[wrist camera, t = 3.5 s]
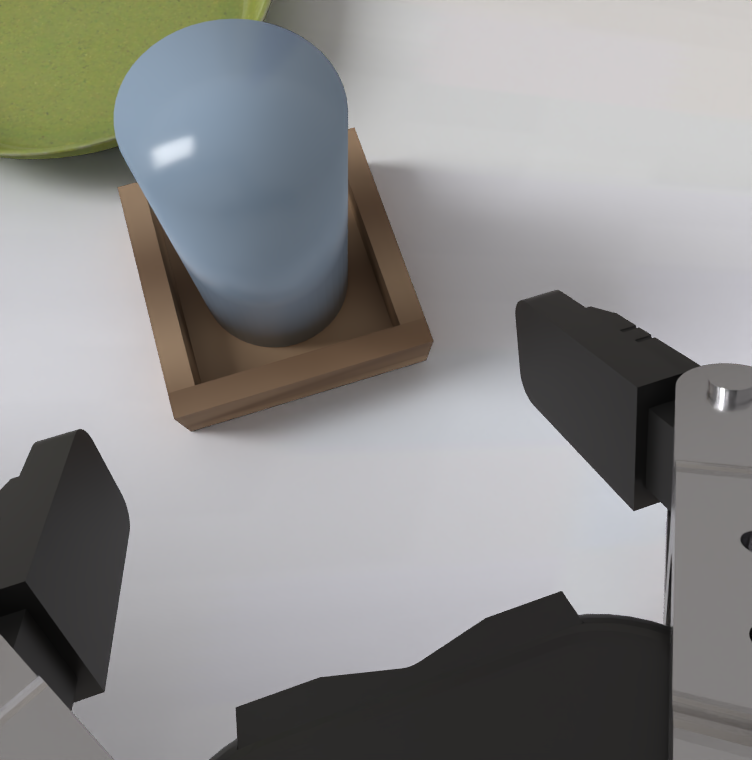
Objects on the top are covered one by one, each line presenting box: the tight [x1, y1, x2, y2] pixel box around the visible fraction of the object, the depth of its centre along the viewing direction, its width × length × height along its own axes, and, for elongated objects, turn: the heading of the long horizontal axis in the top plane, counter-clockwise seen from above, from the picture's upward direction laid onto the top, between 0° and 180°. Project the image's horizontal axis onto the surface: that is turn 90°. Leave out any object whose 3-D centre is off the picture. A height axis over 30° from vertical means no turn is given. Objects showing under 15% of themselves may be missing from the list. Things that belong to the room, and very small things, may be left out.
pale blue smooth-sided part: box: [114, 19, 348, 347], centre depth 21 cm, size 8×6×10 cm
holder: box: [118, 128, 433, 431], centre depth 25 cm, size 10×10×2 cm
